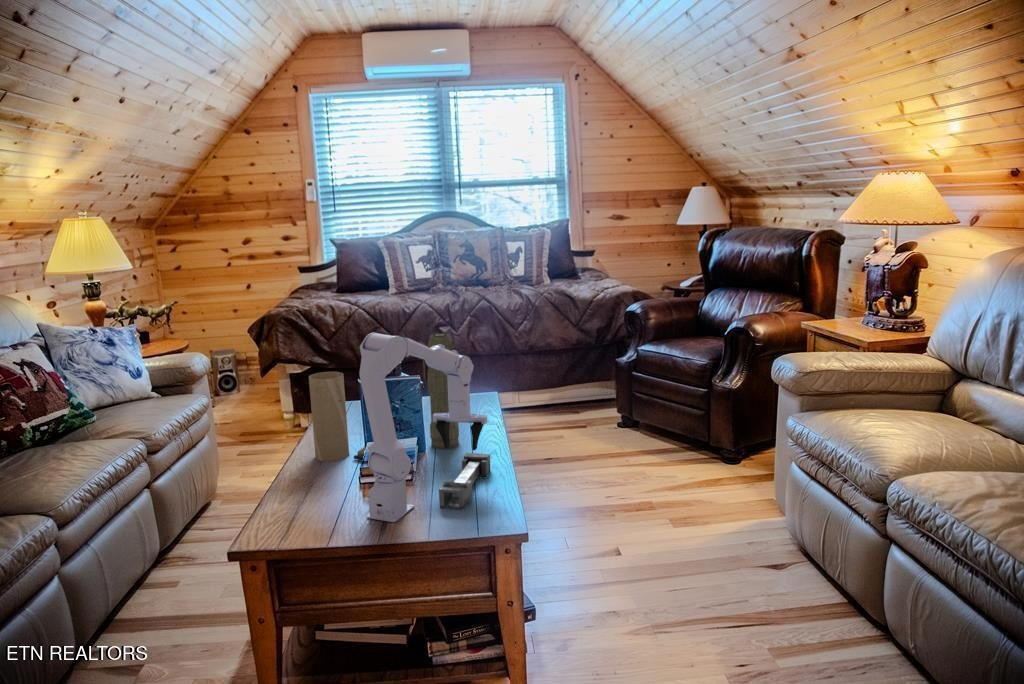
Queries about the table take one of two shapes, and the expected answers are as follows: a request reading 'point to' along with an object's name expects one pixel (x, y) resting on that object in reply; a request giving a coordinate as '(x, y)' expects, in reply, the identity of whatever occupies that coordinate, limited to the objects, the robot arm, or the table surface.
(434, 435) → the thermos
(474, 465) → the rod
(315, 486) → the table surface
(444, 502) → the sleeve
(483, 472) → the socket
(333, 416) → the tube
